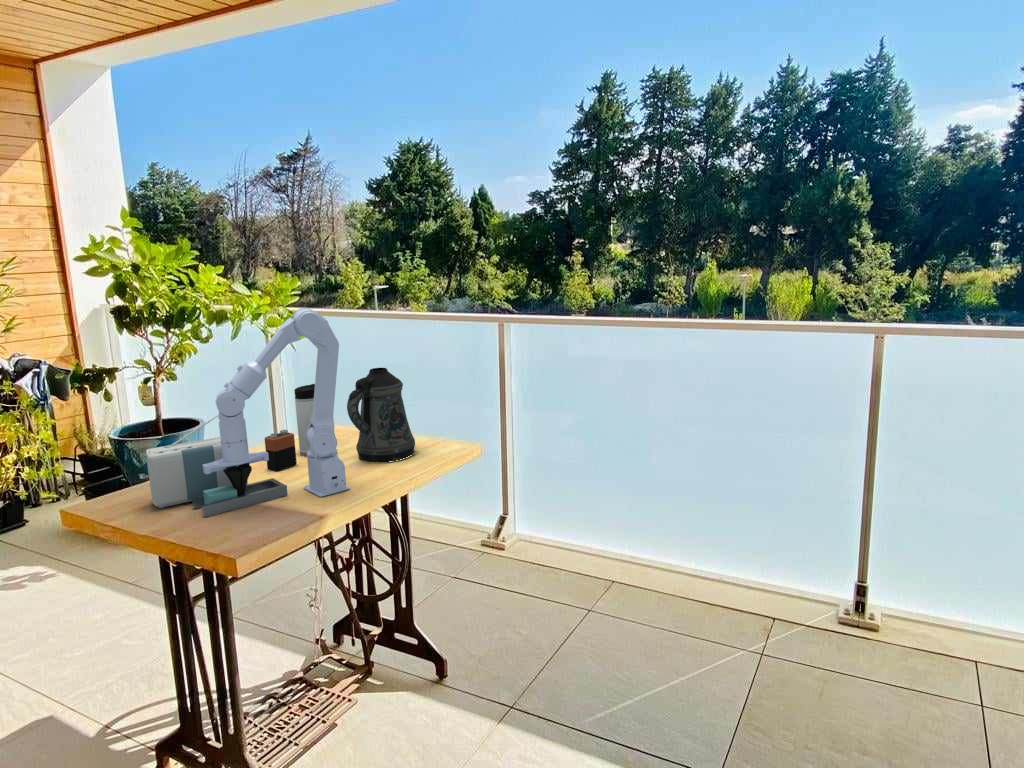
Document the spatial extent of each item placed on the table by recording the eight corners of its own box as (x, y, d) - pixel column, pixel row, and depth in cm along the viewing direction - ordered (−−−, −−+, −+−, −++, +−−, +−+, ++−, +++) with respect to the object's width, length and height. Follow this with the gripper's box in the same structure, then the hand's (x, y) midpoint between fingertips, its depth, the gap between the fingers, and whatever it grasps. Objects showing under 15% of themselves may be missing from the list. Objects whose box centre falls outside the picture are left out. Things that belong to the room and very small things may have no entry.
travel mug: (327, 452, 203) (321, 385, 200) (307, 457, 199) (301, 388, 195) (315, 448, 207) (309, 382, 204) (295, 453, 203) (289, 386, 199)
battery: (297, 465, 192) (294, 430, 190) (277, 472, 186) (273, 435, 184) (287, 463, 194) (284, 428, 192) (266, 469, 188) (263, 433, 187)
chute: (273, 487, 173) (272, 478, 173) (287, 495, 167) (286, 485, 167) (193, 508, 161) (191, 497, 160) (205, 517, 155) (203, 506, 154)
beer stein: (422, 447, 206) (417, 363, 201) (403, 467, 187) (397, 375, 182) (368, 446, 208) (362, 364, 203) (344, 466, 189) (337, 375, 184)
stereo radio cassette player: (155, 512, 159) (144, 427, 156) (149, 502, 166) (138, 420, 162) (249, 491, 171) (241, 412, 167) (240, 483, 178) (232, 407, 174)
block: (238, 506, 161) (236, 489, 160) (211, 513, 157) (209, 496, 157) (231, 500, 165) (229, 484, 164) (204, 507, 161) (202, 490, 160)
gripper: (258, 431, 169) (263, 484, 171) (195, 443, 159) (202, 499, 162) (270, 436, 164) (275, 491, 166) (206, 449, 154) (213, 507, 157)
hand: (240, 496), depth 164 cm, fingers closed
